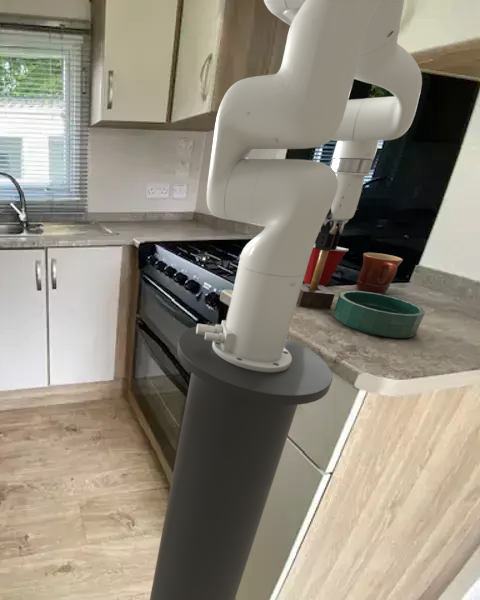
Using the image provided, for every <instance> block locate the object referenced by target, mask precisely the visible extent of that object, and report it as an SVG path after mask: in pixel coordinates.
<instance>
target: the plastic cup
mask: <svg viewBox="0 0 480 600" xmlns="http://www.w3.org/2000/svg"><path fill="white" fill-rule="evenodd" d="M315 245H316V243H315V244H314V247H313V250H312V253H311V256H310V259H309V263H308V266H307V269H306V273H305V276H304V280H303V284H311V281H312V278H313V275H314V271H315V268H316V265H317V261H318V258H319V255H320V251H321V250H319V249H315ZM347 252H349V248H345V247H341V246H337V248H336V250H330V251H329V252H328V255H327V258H326V261H325V265H324V268H323V271H322V274H321V278H320V281H319V284H318V285H322V286H324V287H326V288H327V285H328V284H329V282H330V281H331V278H332V277H333V276H334V274H335V272H336V270H337V268H338V266H339V265H340V263H341V260H342V259H343V258H344V256H345V255H346V254H347Z"/></svg>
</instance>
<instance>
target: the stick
mask: <svg viewBox="0 0 480 600" xmlns="http://www.w3.org/2000/svg"><path fill="white" fill-rule="evenodd" d="M336 231H337V227H335V230H334V233H333V234H336ZM334 237H335V236H334ZM333 240H334V239H333ZM332 244H333V242H332ZM331 247H332V246H331ZM328 252H329V251H324V250H321V251H320V255H319V258H318V261H317V265H316V268H315V271H314V275H313V278H312V281H311V285H310V288H309V289H311V290H317V287H318V284H319V281H320V278H321V274H322V271H323V268H324V265H325V261H326V258H327V255H328Z"/></svg>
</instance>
